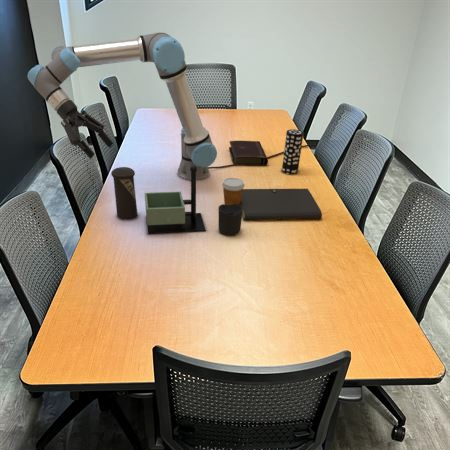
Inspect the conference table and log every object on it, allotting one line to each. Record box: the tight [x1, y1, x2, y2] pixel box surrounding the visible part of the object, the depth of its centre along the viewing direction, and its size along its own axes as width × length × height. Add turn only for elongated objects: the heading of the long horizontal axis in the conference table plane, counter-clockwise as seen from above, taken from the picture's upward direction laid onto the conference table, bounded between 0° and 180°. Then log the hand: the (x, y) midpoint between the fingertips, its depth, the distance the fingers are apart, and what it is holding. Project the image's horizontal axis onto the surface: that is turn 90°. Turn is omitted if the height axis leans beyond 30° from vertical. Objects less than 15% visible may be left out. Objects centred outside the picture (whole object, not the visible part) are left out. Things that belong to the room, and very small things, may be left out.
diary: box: [228, 140, 269, 167], centre depth 247 cm, size 19×25×5 cm
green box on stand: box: [144, 165, 207, 235], centre depth 178 cm, size 23×15×24 cm, turn 101°
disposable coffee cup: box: [221, 177, 245, 205], centre depth 196 cm, size 10×10×12 cm
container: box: [110, 166, 138, 221], centre depth 183 cm, size 9×9×20 cm
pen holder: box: [218, 203, 243, 237], centre depth 180 cm, size 9×9×10 cm
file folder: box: [240, 188, 323, 221], centre depth 200 cm, size 33×4×24 cm
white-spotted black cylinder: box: [281, 128, 305, 176], centre depth 229 cm, size 8×8×20 cm
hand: (102, 150), depth 180 cm, fingers open, 13 cm apart
